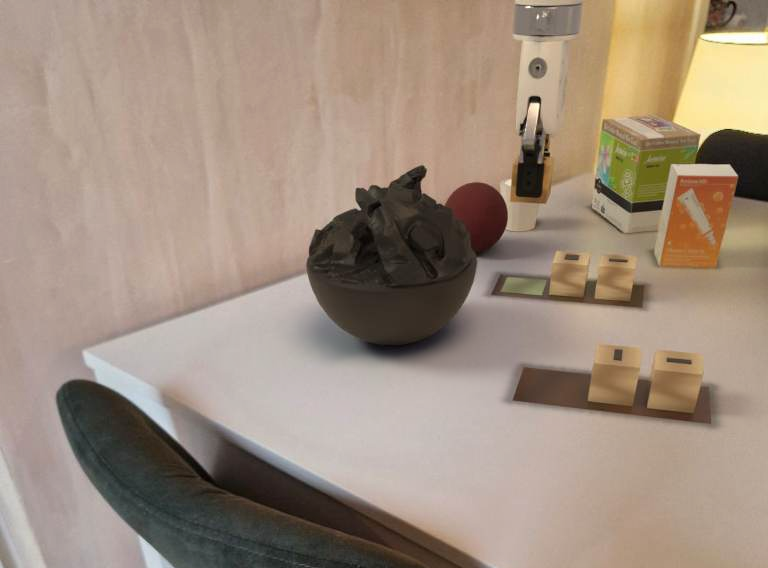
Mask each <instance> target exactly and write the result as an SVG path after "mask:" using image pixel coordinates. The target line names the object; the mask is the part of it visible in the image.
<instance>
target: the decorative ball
mask: <svg viewBox="0 0 768 568" xmlns="http://www.w3.org/2000/svg"><path fill="white" fill-rule="evenodd" d="M444 206H446V207H449V208H452V210H453V215H454V216H453V217H454V218H455V219H458V220H460V221H462V222H463V223H464V224H465V225H466V229H467V230H468V231H469V233H470V242H471V249H472V250H473V251H474V252H475V253H479V252H484V251H487V250H488V249H491V248H492V247H493V246H494V245H496V244H497V243H498V242H499V241H500V240H501V238H502V237H503V235H504V233H505V231H506V226H507V221H508V211H507V206H506V203H505V200H504V198H503V197H502V195H501V194H500V191H499V190H497V188H495V187H494V186H493V185H490V184H488V183H486V182H481V181H480V182H479V181H474V182H468V183H465V184H463V185H461V186H459V187H457V188H456V189H454V191H453V192H451V194H450V195H449V196H448V198H447V200H446V202H445V203H444Z"/></svg>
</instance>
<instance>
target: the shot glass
mask: <svg viewBox="0 0 768 568" xmlns="http://www.w3.org/2000/svg"><path fill="white" fill-rule="evenodd" d="M511 181H512V177H510V178H506V179H503V180H501V181H500V183H499V189H500V190H499V193H500V194H501V195H502V197H503V198H504V200H505V203H506V206H507V211H508V221H507V226H506V229H505V231H510V232H528V231H532V230H534V229H535V227H536V223H537V217H538V212H539V207H540V203H523V202H510V194H511Z"/></svg>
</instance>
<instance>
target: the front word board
mask: <svg viewBox="0 0 768 568" xmlns="http://www.w3.org/2000/svg"><path fill="white" fill-rule="evenodd" d="M642 350H643V349H642V347H635V346H626V345H625V346H624V345H615V344H614V345H613V344H603V343H596V347H595V352H594V357H593V363H592V370H591V374H590V373H582V372H573V371H566V370H565V371H564V370H556V369H555V370H554V369H545V368H538V367H537V368H535V367H528V366H523V368H522V370H521V374H520V377H519V380H518V382H517V385H516V389H515V391H514V395H513V397H512V402H520V403H521V402H522V403H529V404H537V405H545V406H555V407H564V408H571V409H579V410H588V411H596V412H605V413H614V414H620V415H629V416H631V415H632V416H638V417H646V418H656V419H663V420H672V421H680V422H690V423H696V424H697V423H698V424H706V425H712V412H711V399H710V398H711V397H710V387H709V386H705V385H704V386H703V385H702V382H703V378H704V361H703V359H704V358H703V354H702V353H698V352H697V353H695V352H685V351H674V350H664V349H655V351H654V355H653V361H652V366H651V370H650V375H649V380H648V379H639V378H640V377H639V376H640V371H641V364H642Z"/></svg>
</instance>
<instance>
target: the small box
mask: <svg viewBox="0 0 768 568" xmlns="http://www.w3.org/2000/svg"><path fill="white" fill-rule="evenodd" d="M738 179H739V175H738V174H737V172H736V171H735V169H734V168H733V167H732V165H731V164H730V163H728V164H726V163H725V164H711V163H710V164H709V163H695V164H671V167H670V172H669V177H668V182H667V188H666V193H665V198H664V203H663V208H662V213H661V218H660V223H659V228H658V230H657V235H656V241H655V245H654V251H653V253H654V255H655V259H656V261H657V264H658V266H659V267H678V268H679V267H682V268H685V267H686V268H717V264H718V261H719V257H720V252H721V249H722V245H723V240H724V236H725V233H726V228H727V224H728V221H729V216H730V213H731V208H732V205H733V200H734V197H735V193H736V188H737V184H738Z"/></svg>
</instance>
